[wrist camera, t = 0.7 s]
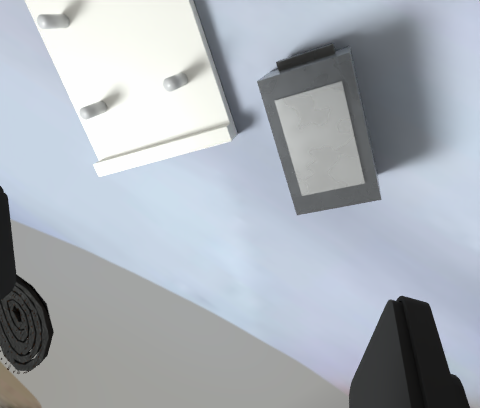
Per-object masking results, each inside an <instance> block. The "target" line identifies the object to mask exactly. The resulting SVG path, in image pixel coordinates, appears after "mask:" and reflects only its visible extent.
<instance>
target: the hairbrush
mask: <svg viewBox="0 0 480 408" xmlns="http://www.w3.org/2000/svg"><path fill="white" fill-rule="evenodd" d="M52 336H53V328H52V324H51V320H50V315H49V311H48V307H47V303H46V302H45V301H44V300H43V298H42V297H41V296H40V295H39V294H38V292H37V291H36V290H35V288H34V287H33V286H32V285H31V284H29V283H27V282H26V281H24V280H23V279H22V278H20V277H19V276H18V275H16V284H15V286H14V288H13V290H12V291H11V292H10V293H9V294H8V295H7V296H6V297H4V298H3V299H2V300H1V301H0V346H1V348H2V351H3V354H4V356H5V357H6V358H7V360H8V361H9V362H10V363H11V364H12V365H13V366H14V367H15V368H16V369H17V370H20V371H28V372H29V371H31V370H32V369H34V368H35V367H36V366H37V365H39V364H40V363H41V362H42V361H43V360H44V359H45V357H46V356H47V355H48V351H49V347H50V344H51V340H52ZM31 349H32V350H31ZM30 350H31V352H29V351H30ZM0 352H1V351H0ZM37 353H38V354H37ZM36 354H37V356H36V357H35V358H34V359H32V358H33V357H34V356H35V355H36ZM1 360H2V358H1ZM5 364H6V363H5ZM7 369H8V368H7ZM8 370H9V369H8ZM13 373H14V372H13ZM24 373H25V372H24Z"/></svg>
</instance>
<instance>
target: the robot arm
mask: <svg viewBox="0 0 480 408" xmlns="http://www.w3.org/2000/svg"><path fill="white" fill-rule="evenodd" d="M15 284H16V269H15V260H14V251H13V241H12V232H11V222H10V213H9V204H8V197H7V195H6V194H5V193H4V191H3V189H2V187H1V186H0V301H1V300H2V299H3V298H4V297H6V296H7V295H8V294H9V293H10V292H11V291H12V290H13V288H14V286H15ZM349 408H470V406H469V403H468V400H467V397H466V394H465V391H464V388H463V385H462V383H461V381H460V379H459V378H458V377H457V376H456V375H453V374H450V371H449V368H448V364H447V361H446V358H445V354H444V351H443V348H442V344H441V341H440V338H439V334H438V331H437V328H436V324H435V321H434V318H433V314H432V311H431V308H430V306H429V304H428V303H426V302H423V301H419V300H415V299H412V298H408V297H404V296H400V297H399V298H398V299H397V301H394V300H389V301H388V302H387V304H386V306H385V308H384V310H383V313H382V315H381V317H380V319H379V322H378V324H377V326H376V328H375V331H374V333H373V335H372V337H371V340H370V342H369V344H368V346H367V349H366V351H365V353H364V355H363V358H362V360H361V362H360V364H359V367H358V369H357V371H356V373H355V375H354V378H353V380H352V383H351V387H350V393H349Z"/></svg>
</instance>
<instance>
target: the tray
mask: <svg viewBox="0 0 480 408" xmlns="http://www.w3.org/2000/svg"><path fill="white" fill-rule="evenodd" d="M25 2H26V4H27V6H28V9H29V11H30V13H31V15H32V17H33V19H34V22H35V24H36V26H37V28H38V30H39V32H40V34H41V37H42V39H43V41H44V43H45V45H46V47H47V49H48V52H49V54H50V56H51V58H52V60H53V62H54V65H55V67H56V69H57V71H58V73H59V75H60V77H61V80H62V82H63V84H64V86H65V88H66V90H67V93H68V95H69V97H70V99H71V101H72V103H73V105H74V108H75V110H76V112H77V114H78V116H79V118H80V120H81V123H82V125H83V127H84V129H85V131H86V133H87V136H88V138H89V140H90V142H91V144H92V146H93V148H94V151H95V153H96V155H97V157H98V159H99V161H98V162H97V163H95V164H93V165H94V167H95V170H96V172H97V174H98V176H99V177H101V176H104V175H108V174H112V173H115V172H119V171H123V170H127V169H130V168H134V167H138V166H141V165H145V164H149V163H152V162H156V161H160V160H164V159H167V158H171V157H175V156H178V155H182V154H186V153H190V152H193V151H197V150H201V149H204V148H208V147H212V146H215V145H219V144H223V143H227V142H230V141H232V140H233V139H234V138H235V137H236V136H237V135H238V133H237V130H236V127H235V124H234V121H233V118H232V115H231V112H230V109H229V106H228V103H227V100H226V97H225V94H224V91H223V88H222V85H221V82H220V79H219V76H218V73H217V70H216V67H215V64H214V61H213V58H212V55H211V52H210V49H209V46H208V43H207V40H206V37H205V34H204V31H203V28H202V25H201V22H200V19H199V16H198V13H197V10H196V7H195V4H194V1H193V0H25Z"/></svg>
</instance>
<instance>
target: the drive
mask: <svg viewBox="0 0 480 408" xmlns="http://www.w3.org/2000/svg"><path fill="white" fill-rule="evenodd" d="M276 63H277V67H278V69H277V70H274V71H271V72H269V73H268V74H266V75H265V76H264V77H262V78H261V79H260V80H258V81H257V83H258V86H259V89H260V93H261V96H262V99H263V103H264V106H265V109H266V113H267V116H268V119H269V123H270V126H271V130H272V133H273V136H274V140H275V143H276V146H277V150H278V153H279V156H280V160H281V163H282V166H283V170H284V173H285V177H286V180H287V183H288V187H289V190H290V193H291V197H292V200H293V203H294V207H295V210H296V213H297V215H301V214H306V213H312V212H317V211H322V210H328V209H333V208H339V207H344V206H349V205H355V204H360V203H366V202H371V201H376V200H381V195H380V188H379V182H378V175H377V170H376V166H375V161H374V156H373V152H372V147H371V142H370V138H369V133H368V128H367V124H366V119H365V114H364V109H363V105H362V100H361V95H360V91H359V86H358V81H357V77H356V72H355V67H354V63H353V58H352V53H351V48H350V46H349V47H346V48H343V49H340V50H337V51H335V47H334V43H332V44H329V45H326V46H322V47H319V48H316V49H313V50H310V51H307V52H304V53H301V54H298V55H295V56H292V57H289V58H286V59H283V60H280V61H278V62H276Z"/></svg>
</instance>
